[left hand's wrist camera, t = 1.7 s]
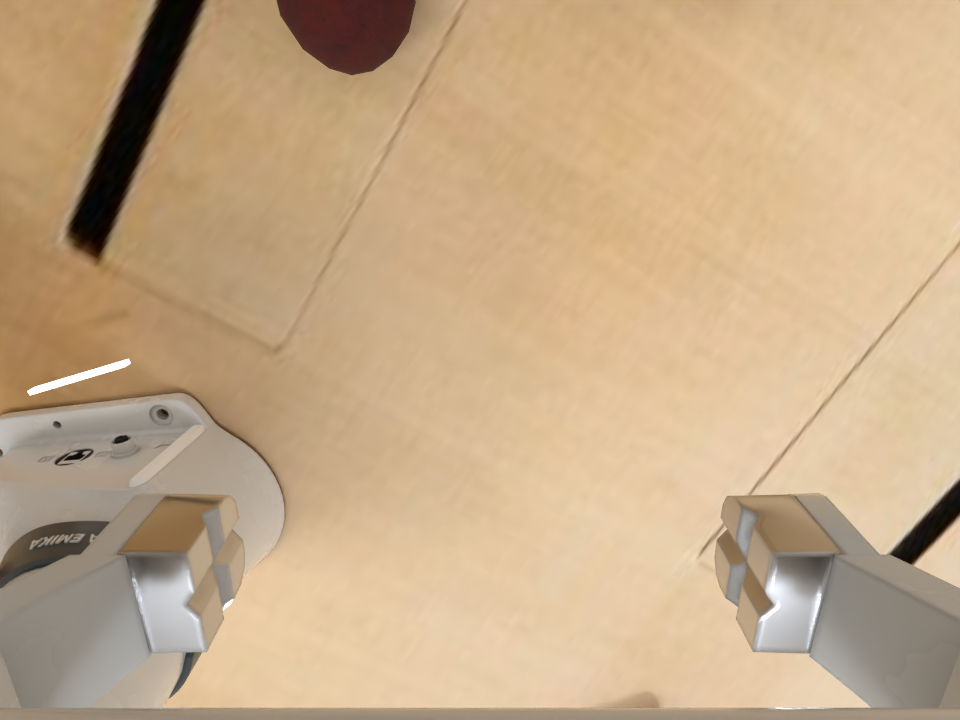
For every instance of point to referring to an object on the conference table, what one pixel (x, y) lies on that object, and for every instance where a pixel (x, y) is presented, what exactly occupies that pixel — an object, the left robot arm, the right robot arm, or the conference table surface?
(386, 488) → the conference table surface
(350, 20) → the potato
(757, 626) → the left robot arm
